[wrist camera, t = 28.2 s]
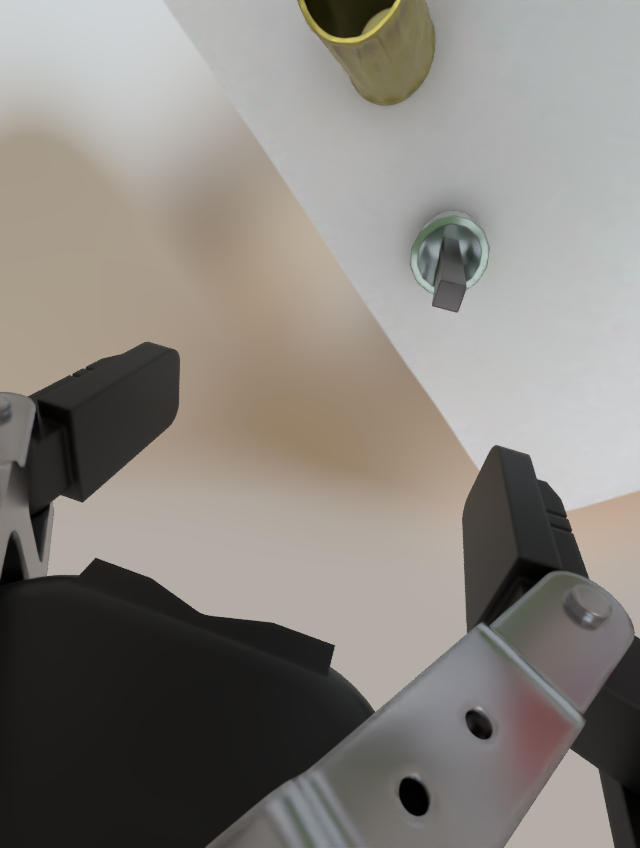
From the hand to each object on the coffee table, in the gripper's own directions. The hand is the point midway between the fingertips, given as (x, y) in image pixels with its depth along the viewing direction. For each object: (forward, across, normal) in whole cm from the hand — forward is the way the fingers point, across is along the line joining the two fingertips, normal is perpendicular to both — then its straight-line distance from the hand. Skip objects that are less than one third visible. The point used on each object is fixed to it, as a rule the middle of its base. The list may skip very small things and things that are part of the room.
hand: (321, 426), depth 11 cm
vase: (+30, +5, -12) cm, 33 cm away
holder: (+30, -3, -2) cm, 30 cm away
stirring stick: (+29, -3, -1) cm, 30 cm away
